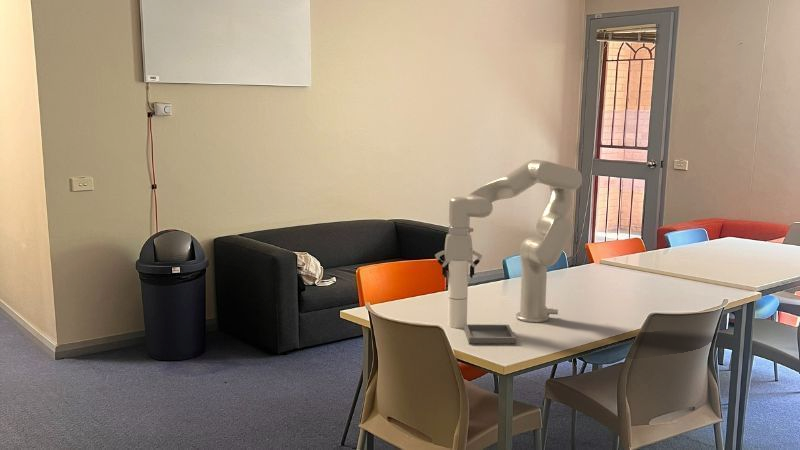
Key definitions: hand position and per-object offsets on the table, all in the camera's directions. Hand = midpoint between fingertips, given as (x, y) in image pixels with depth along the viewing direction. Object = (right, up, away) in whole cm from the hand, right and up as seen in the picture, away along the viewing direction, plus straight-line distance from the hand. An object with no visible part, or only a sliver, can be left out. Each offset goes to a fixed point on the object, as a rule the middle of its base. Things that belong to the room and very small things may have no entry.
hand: (458, 277), depth 276 cm
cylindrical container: (0, -18, +3) cm, 19 cm away
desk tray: (+10, -21, -12) cm, 26 cm away
